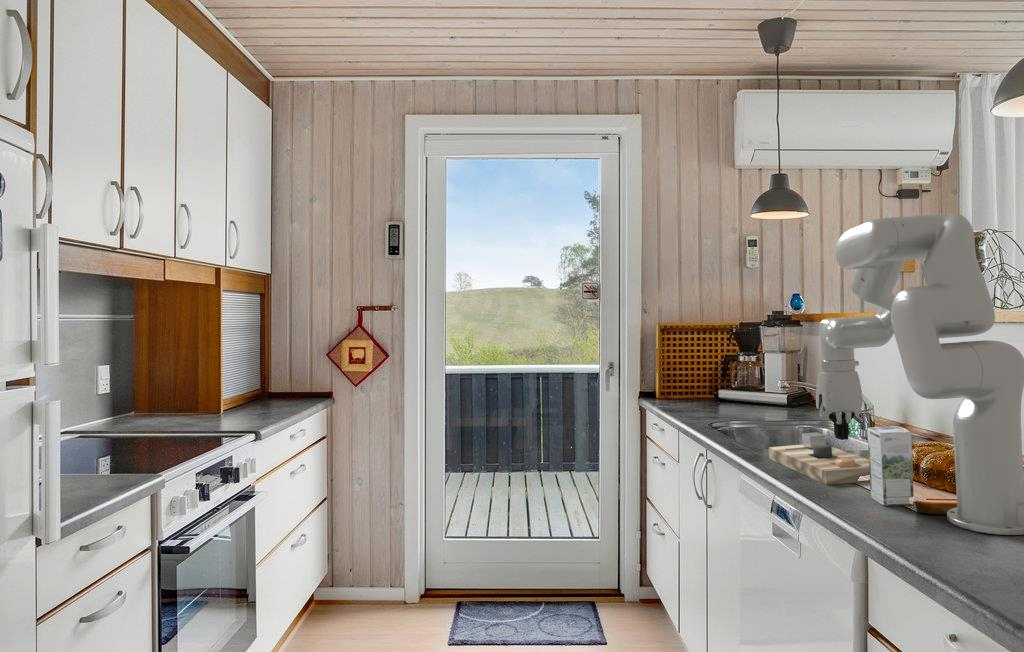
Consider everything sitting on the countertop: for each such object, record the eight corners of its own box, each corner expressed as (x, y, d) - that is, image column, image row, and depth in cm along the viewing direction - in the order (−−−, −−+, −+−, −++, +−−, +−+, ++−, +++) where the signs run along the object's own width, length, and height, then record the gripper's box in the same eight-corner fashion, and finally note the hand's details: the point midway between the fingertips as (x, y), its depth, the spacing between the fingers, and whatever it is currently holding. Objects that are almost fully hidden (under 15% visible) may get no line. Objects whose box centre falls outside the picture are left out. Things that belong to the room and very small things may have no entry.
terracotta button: (859, 475, 144) (858, 461, 144) (842, 477, 144) (841, 463, 144) (848, 471, 148) (848, 457, 148) (832, 473, 148) (831, 459, 148)
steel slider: (826, 447, 162) (825, 435, 162) (810, 448, 162) (810, 436, 162) (817, 443, 166) (816, 432, 166) (802, 445, 166) (801, 433, 166)
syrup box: (900, 497, 130) (896, 424, 129) (915, 506, 124) (911, 430, 124) (870, 498, 130) (866, 426, 130) (884, 507, 124) (879, 431, 124)
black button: (835, 461, 153) (835, 447, 153) (819, 462, 153) (818, 449, 152) (826, 457, 157) (825, 444, 157) (810, 458, 157) (809, 445, 156)
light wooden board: (887, 479, 142) (886, 465, 142) (826, 484, 141) (825, 471, 141) (821, 454, 168) (820, 442, 168) (769, 458, 167) (768, 447, 167)
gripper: (857, 363, 169) (860, 433, 169) (801, 367, 167) (805, 438, 168) (875, 365, 161) (879, 439, 162) (818, 370, 160) (821, 444, 160)
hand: (841, 438), depth 165 cm, fingers closed
